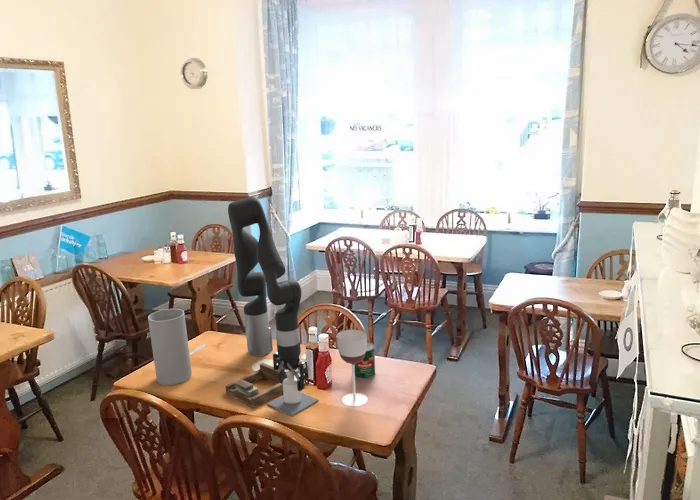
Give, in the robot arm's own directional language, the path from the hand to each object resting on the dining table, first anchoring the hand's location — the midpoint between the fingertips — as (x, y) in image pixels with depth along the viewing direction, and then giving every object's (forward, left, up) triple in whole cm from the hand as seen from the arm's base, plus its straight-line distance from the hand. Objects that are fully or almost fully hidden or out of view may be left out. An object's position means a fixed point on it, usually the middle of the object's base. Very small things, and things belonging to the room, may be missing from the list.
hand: (291, 386), depth 188 cm
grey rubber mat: (0, 0, -6) cm, 6 cm away
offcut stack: (+6, -17, -6) cm, 19 cm away
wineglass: (-14, +15, -6) cm, 21 cm away
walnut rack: (+1, -16, -6) cm, 17 cm away
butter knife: (+1, -61, -7) cm, 61 cm away
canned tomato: (-30, +6, -6) cm, 31 cm away
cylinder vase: (+14, -49, -6) cm, 51 cm away
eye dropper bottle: (0, 0, -6) cm, 6 cm away
